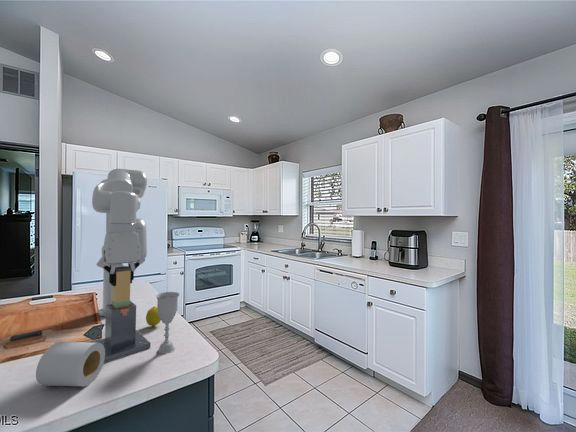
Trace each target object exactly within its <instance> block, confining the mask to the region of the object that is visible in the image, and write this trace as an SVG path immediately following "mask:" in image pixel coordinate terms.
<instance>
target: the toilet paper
mask: <svg viewBox="0 0 576 432" xmlns="http://www.w3.org/2000/svg"><path fill="white" fill-rule="evenodd" d="M104 359H105V348H104V346H103V345H102V344H101V343H90V342H86V341H85V342H83V341H81V342H80V341H74V342H73V341H58V342H56V343H55V342H54V343H53V344H52V345H50V346H49V347H48V348H47V349H46V350H45V351H44V353H43V354H42V355H41V356H40V359H39V360H38V363H37V366H36V369H35V378H36V381H37V383H38V385H41V386H46V387H47V386H48V387H49V386H52V387H53V386H55V387H59V386H60V387H88V386H90V384H92V383H93V382H95V380H96V379H97V378H98V375H99V374H100V372H101V371H102V369H103V366H104Z"/></svg>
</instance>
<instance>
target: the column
mask: <svg viewBox="0 0 576 432" xmlns="http://www.w3.org/2000/svg"><path fill="white" fill-rule="evenodd" d="M115 274H116V285H115V286H113V299H112V307H113V308H114V309H117V308H121V307H126V306H130V302H132V301H131V284H130V275H131V268H130V267H128V265H124V266H123V267H116V268H115Z"/></svg>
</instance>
